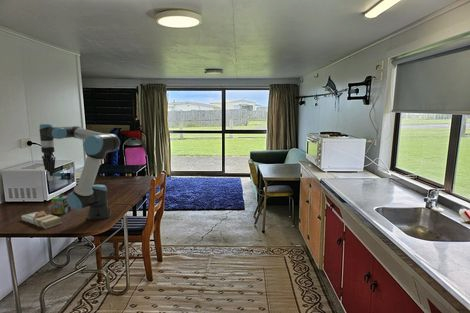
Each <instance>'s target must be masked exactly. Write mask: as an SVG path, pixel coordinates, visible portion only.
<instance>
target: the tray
mask: <svg viewBox="0 0 470 313" xmlns="http://www.w3.org/2000/svg"><path fill="white" fill-rule="evenodd" d="M37 212H38V211H34V212H30V213H27V214H23V215H21V221H24V222H26V223H28V222H29V224H31V225H34V219H31V218H29V216H28V215H31V214H34V213H37Z"/></svg>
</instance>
